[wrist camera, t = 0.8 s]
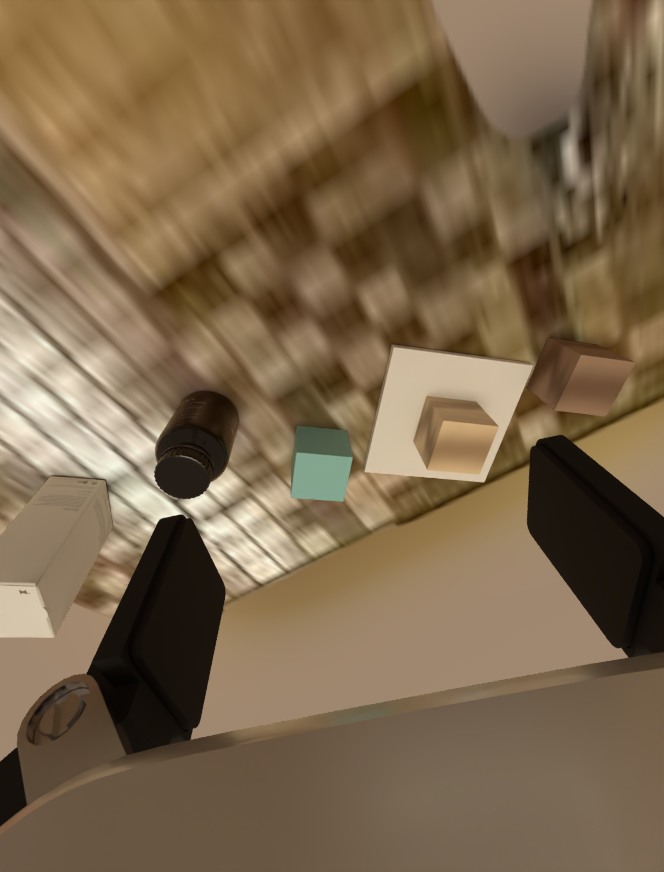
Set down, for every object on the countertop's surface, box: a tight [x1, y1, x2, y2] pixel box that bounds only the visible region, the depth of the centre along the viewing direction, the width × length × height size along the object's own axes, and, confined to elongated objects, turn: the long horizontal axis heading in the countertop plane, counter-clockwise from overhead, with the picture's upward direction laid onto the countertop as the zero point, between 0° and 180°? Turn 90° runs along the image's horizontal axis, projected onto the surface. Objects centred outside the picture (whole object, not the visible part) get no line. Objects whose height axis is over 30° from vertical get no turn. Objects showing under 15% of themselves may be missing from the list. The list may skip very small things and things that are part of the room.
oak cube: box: [413, 396, 499, 475], centre depth 44 cm, size 6×6×6 cm
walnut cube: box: [526, 338, 636, 416], centre depth 43 cm, size 6×6×6 cm
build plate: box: [363, 344, 533, 482], centre depth 47 cm, size 16×16×1 cm
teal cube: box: [291, 426, 353, 501], centre depth 46 cm, size 6×6×6 cm
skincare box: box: [0, 476, 113, 638], centre depth 43 cm, size 8×7×16 cm
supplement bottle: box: [154, 392, 238, 499], centre depth 40 cm, size 7×7×12 cm
